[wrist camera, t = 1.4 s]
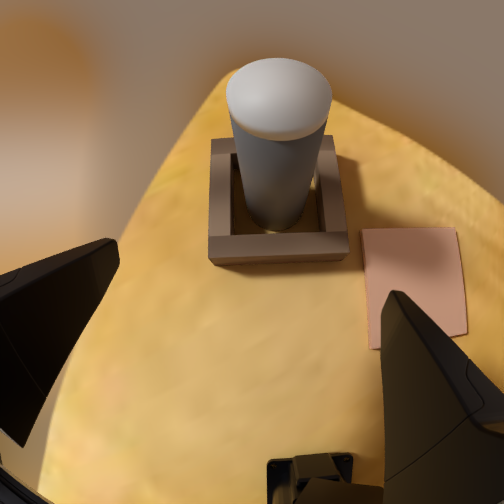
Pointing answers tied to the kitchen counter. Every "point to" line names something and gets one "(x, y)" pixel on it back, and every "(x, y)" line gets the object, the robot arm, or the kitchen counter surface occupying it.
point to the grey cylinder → (277, 135)
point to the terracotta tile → (414, 275)
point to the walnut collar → (280, 244)
